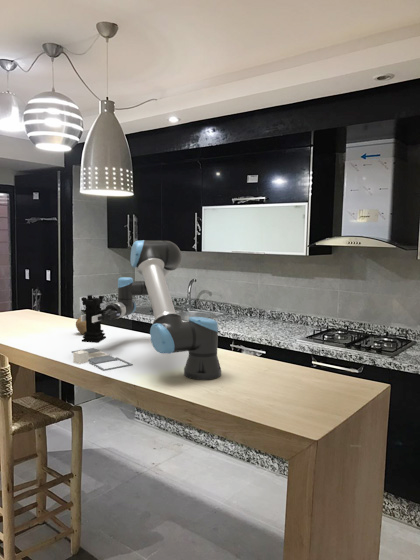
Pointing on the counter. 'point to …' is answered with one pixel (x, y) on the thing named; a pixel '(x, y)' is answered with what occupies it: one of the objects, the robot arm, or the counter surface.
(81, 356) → the die
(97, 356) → the track
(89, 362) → the grey flat square frame
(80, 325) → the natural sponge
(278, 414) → the counter surface
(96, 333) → the chess piece
